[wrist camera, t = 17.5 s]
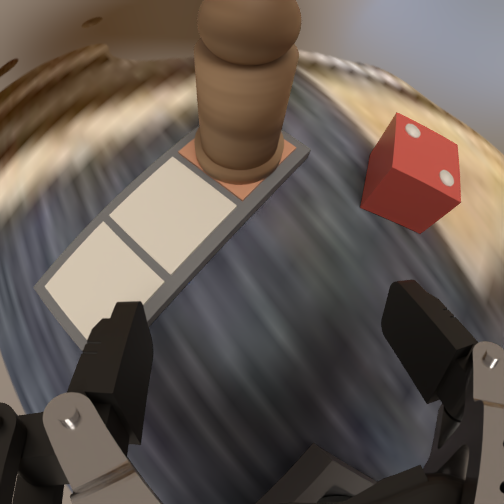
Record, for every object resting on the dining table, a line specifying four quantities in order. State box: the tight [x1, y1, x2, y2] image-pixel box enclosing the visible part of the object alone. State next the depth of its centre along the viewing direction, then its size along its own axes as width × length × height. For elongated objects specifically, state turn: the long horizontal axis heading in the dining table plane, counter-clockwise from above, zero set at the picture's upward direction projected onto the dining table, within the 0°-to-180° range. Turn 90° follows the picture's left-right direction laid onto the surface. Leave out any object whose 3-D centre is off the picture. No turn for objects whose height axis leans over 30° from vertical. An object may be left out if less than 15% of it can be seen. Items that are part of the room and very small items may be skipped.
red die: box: [360, 113, 461, 234], centre depth 18 cm, size 5×5×5 cm
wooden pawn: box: [194, 0, 301, 185], centre depth 14 cm, size 6×6×12 cm
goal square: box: [178, 138, 296, 202], centre depth 20 cm, size 6×6×1 cm
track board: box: [33, 126, 311, 351], centre depth 18 cm, size 19×7×1 cm, turn 140°
